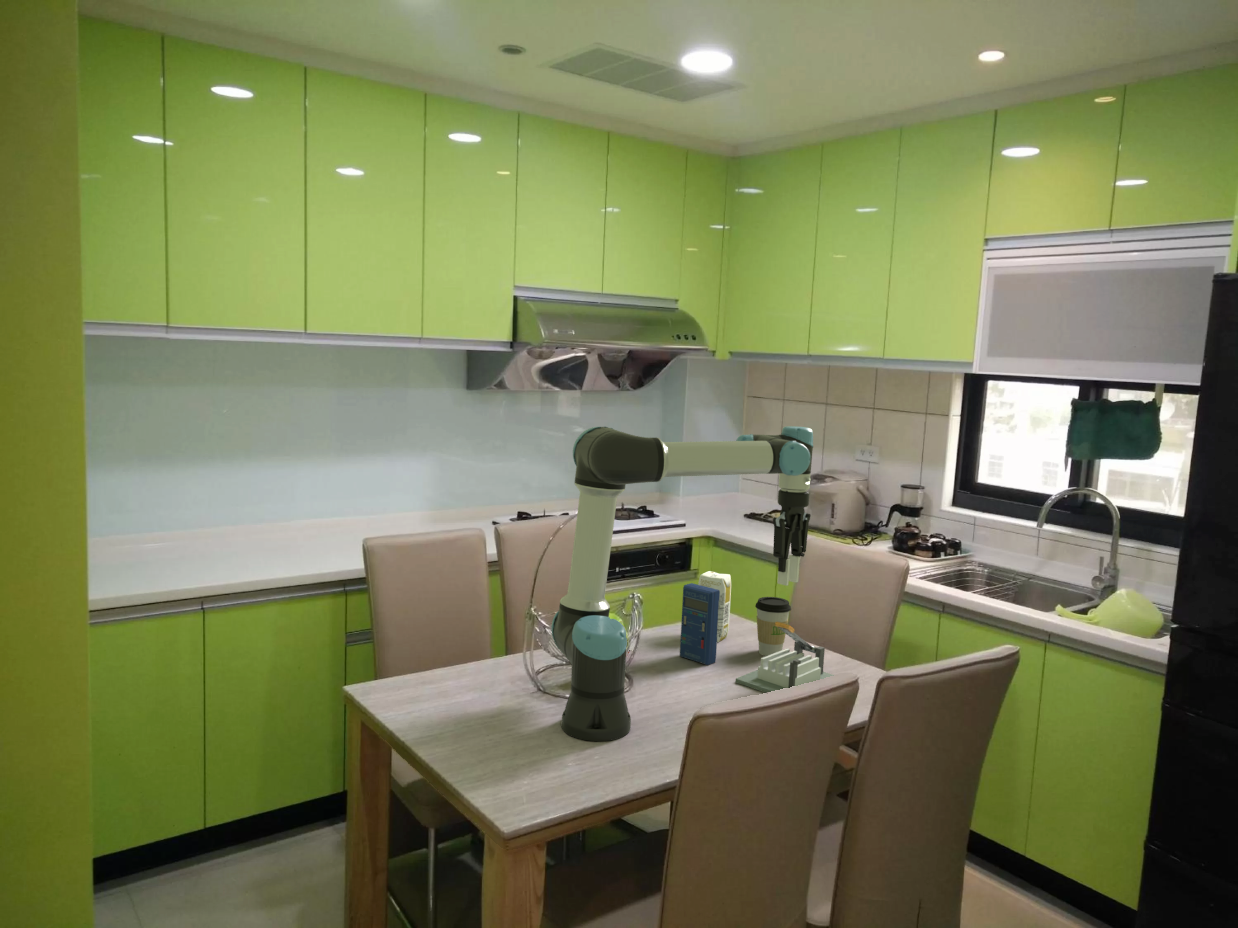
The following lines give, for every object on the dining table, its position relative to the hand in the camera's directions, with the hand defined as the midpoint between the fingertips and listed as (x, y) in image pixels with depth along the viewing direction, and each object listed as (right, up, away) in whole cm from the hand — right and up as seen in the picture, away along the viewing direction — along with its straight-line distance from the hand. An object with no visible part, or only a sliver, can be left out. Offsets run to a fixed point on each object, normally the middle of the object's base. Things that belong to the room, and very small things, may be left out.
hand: (787, 582), depth 223 cm
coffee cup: (0, -24, +28) cm, 37 cm away
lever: (+3, -16, +6) cm, 17 cm away
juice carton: (-15, -22, +39) cm, 47 cm away
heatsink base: (+2, -26, +6) cm, 27 cm away
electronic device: (-21, -24, +20) cm, 37 cm away
